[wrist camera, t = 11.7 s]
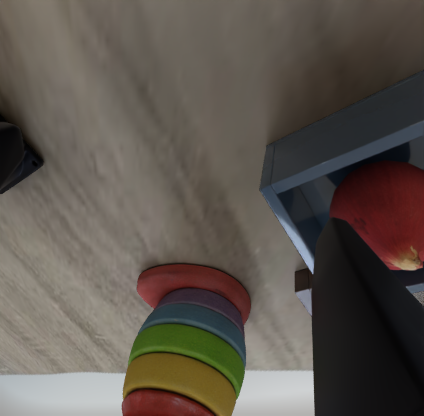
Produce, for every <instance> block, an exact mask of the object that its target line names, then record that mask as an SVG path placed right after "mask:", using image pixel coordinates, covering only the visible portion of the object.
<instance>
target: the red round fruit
mask: <svg viewBox="0 0 424 416" xmlns="http://www.w3.org/2000/svg"><path fill="white" fill-rule="evenodd" d="M329 216H330V218H331V217H336V218H339V219H343V220H346V221H347V222H348V223H349V224H350V225H351V226H352V228H353V229H354V230H355V231H356V232H357V233H358V234H359V235H360V237H361V238H362V239H363V240H364V241H365V242H366V243H367V244H368V245H369V247H370V248H371V249H372V250H373V251H374V252H375V253H376V254H377V256H378V257H379V258H380V259H381V260H382V261H383V262H384V263H385V264H386V266H387V267H388V268H389V269H390V270H402V269H403V270H416V269H418V268H423V262H424V170H423V169H420V168H418V167H416V166H414V165H412V164H410V163H408V162H398V161H388V160H384V161H380V162H375V163H370V164H365V165H363V166H361V167H359V168H358V169H356V170H354V171H352V172H351V173H349V174H348V175H347V176H346V177H345V178H344V180H343V181H342V182H341V183H340V184H339V186H338V187H337V188H336V189H335V191H334V194H333V198H332V201H331V204H330V211H329Z"/></svg>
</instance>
